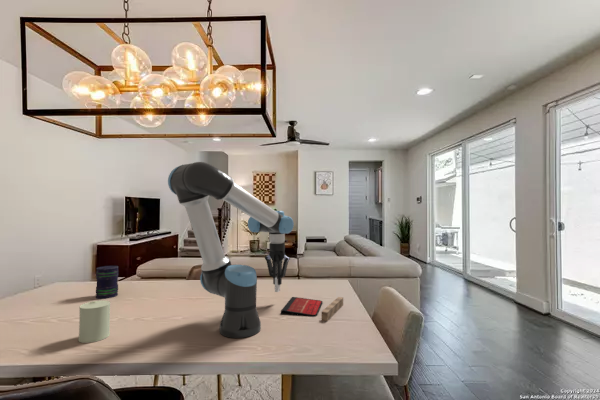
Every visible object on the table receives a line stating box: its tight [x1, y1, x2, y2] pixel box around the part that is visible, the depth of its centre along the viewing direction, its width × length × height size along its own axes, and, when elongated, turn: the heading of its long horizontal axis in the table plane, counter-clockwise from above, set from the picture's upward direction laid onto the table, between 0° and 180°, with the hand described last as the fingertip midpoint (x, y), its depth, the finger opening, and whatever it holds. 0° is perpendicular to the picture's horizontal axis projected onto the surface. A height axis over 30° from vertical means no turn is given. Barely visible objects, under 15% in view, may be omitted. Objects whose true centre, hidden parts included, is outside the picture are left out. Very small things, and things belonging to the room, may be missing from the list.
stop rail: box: [321, 296, 344, 322], centre depth 133 cm, size 23×2×4 cm, turn 155°
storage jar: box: [95, 265, 120, 300], centre depth 156 cm, size 10×10×15 cm
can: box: [78, 300, 111, 344], centre depth 106 cm, size 9×9×12 cm
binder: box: [280, 296, 323, 317], centre depth 139 cm, size 16×2×21 cm
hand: (277, 291), depth 145 cm, fingers closed
